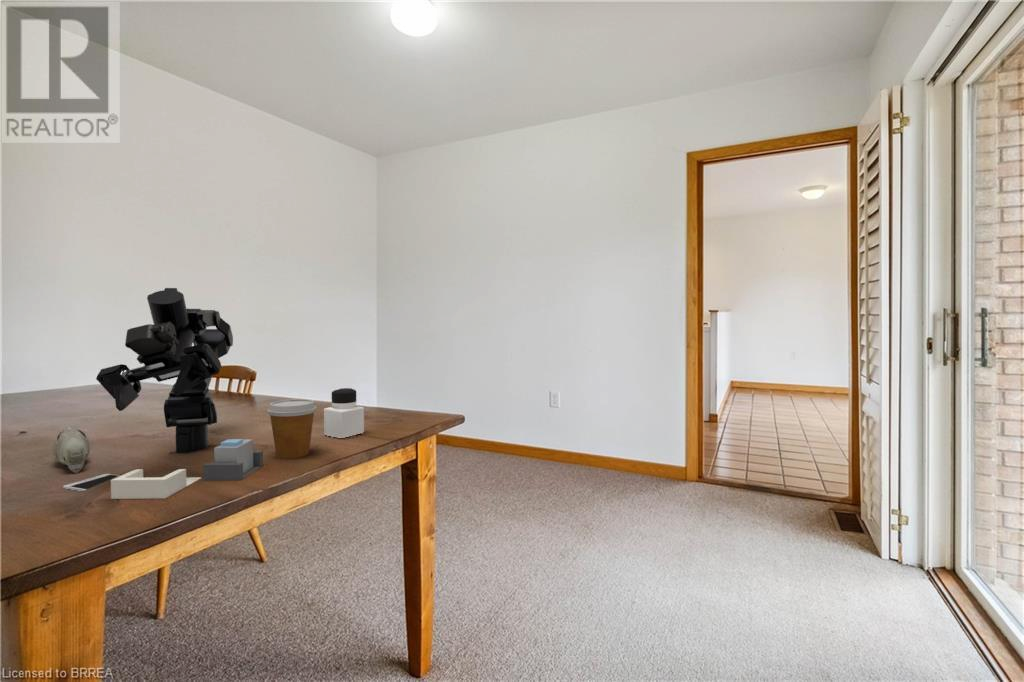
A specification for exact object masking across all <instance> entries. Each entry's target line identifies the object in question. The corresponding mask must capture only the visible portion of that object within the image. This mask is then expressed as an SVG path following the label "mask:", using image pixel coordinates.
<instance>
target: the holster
mask: <svg viewBox="0 0 1024 682" xmlns="http://www.w3.org/2000/svg"><path fill="white" fill-rule="evenodd" d="M263 465H264V450H253V468H251V469H250V470H248V471H246V472H245V473H243V463H215V462H206V463H204V464H202V480H203V481H240V480H242V479H244V478H245V477H247V476H249V475H250V474H252V473H253V472H254V471H256V470H258V469H259V468H261V467H262V466H263Z"/></svg>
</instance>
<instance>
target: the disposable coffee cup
mask: <svg viewBox="0 0 1024 682" xmlns="http://www.w3.org/2000/svg"><path fill="white" fill-rule="evenodd" d="M316 409H317V406H316V405H315V402H314V400H312V399H307V398H306V399H304V398H302V399H301V398H300V399H299V398H297V399H285V400H284V399H283V400H277V401H272V402H270V403H269V408H268V409H267V412H268V415H269V417H270V424H271V429H272V431H271V432H272V436H273V444H274V449H275V456H276V458H278V459H297V458H302V457H305V456H307V455H309V454H310V448H311V441H312V440H311V438H312V430H313V423H314V414H315V412H316Z"/></svg>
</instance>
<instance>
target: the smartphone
mask: <svg viewBox="0 0 1024 682" xmlns="http://www.w3.org/2000/svg"><path fill="white" fill-rule="evenodd" d="M119 476H121V475H118V474H111V473H103V474H100V475H96V476H94V477H93V476H92V477H89V478H86V479H83V480H79V481H75V482H72V483H69V484H66V485H62V489H63V488H65V489H64V490H67V489H71V490H70V491H73V490H77V491H76V492H80V491H82V492H84V491H86V490H88V489H91V488H93V487H96V486H98V485H101V484H103V483H105V482H107V481H111V480H112V479H115V478H117V477H119Z"/></svg>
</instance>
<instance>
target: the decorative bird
mask: <svg viewBox="0 0 1024 682" xmlns="http://www.w3.org/2000/svg"><path fill="white" fill-rule="evenodd" d="M59 430H60V432H59V433H58V434H57V435H56V437H55V440H54V443H53V456H54V460H56V461H57V462H58V463H60V464H62V465H67V468H68V469H69V470H70V472H72V473H73V474H79V473H80V471H81V470H82V468H83V466H84V464H85V461H86V459H87V458H88V457H89V455H90V453H91V452H90V451H91V447H90V444H91V443H90V441H89V438H88V435H87V434H86V433H85V431H83V430H79V427H78V426H77V424H75V423H72V422H66V423H65V424H63V425H61V426H60V429H59Z"/></svg>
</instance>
